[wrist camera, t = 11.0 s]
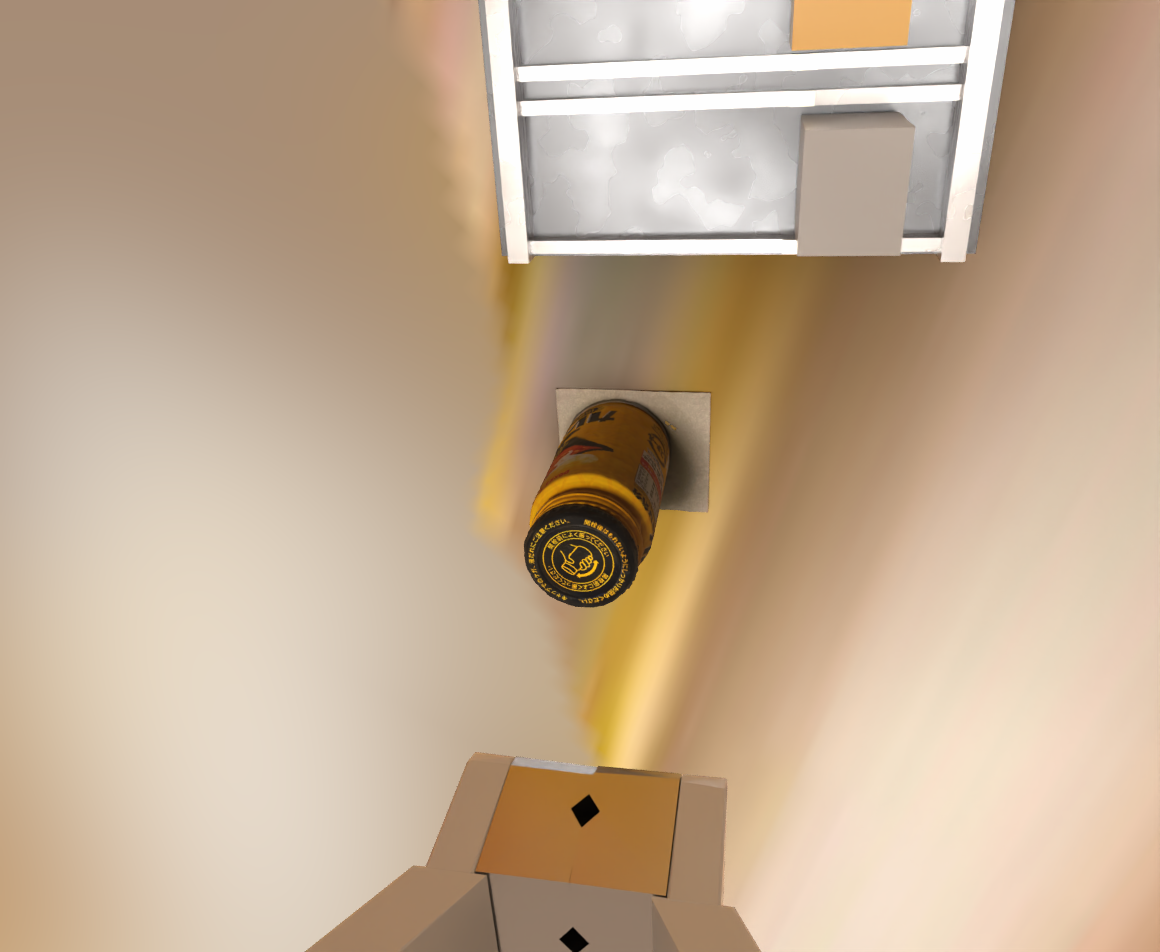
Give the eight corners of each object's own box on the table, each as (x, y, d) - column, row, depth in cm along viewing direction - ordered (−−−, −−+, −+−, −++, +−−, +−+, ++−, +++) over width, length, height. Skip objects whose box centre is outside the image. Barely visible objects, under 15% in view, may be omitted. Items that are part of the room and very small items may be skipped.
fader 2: (898, 111, 37) (915, 127, 33) (886, 226, 40) (900, 255, 35) (801, 114, 38) (804, 130, 34) (794, 227, 40) (797, 256, 36)
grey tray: (1025, -146, 35) (1049, -158, 32) (966, 242, 42) (981, 261, 39) (481, -100, 39) (458, -108, 36) (512, 245, 46) (494, 263, 43)
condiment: (556, 387, 49) (499, 493, 39) (710, 391, 48) (694, 502, 37) (563, 502, 53) (513, 627, 42) (708, 509, 51) (692, 641, 41)
